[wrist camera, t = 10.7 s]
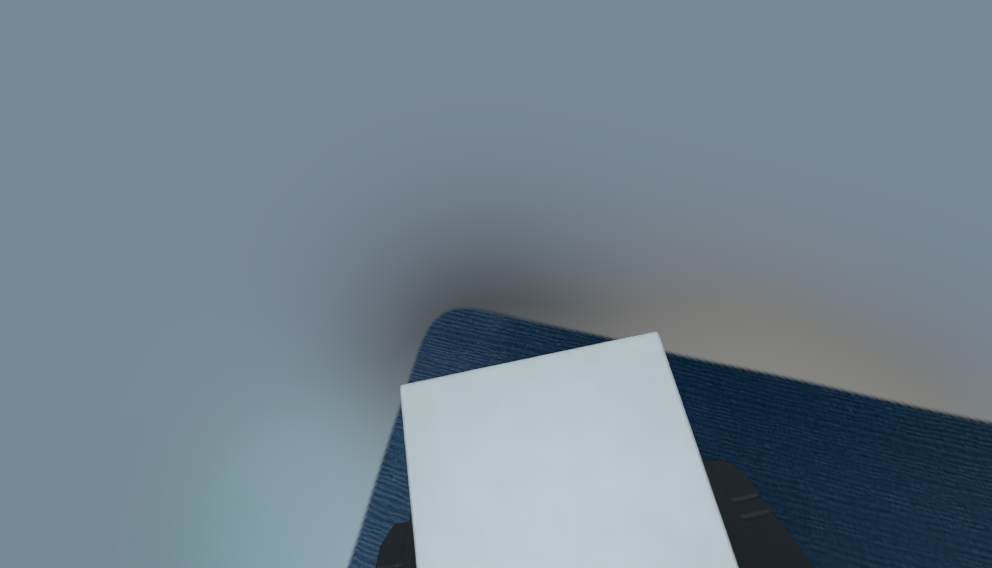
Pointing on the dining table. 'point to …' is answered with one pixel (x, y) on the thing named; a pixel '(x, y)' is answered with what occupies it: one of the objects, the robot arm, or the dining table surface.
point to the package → (560, 465)
